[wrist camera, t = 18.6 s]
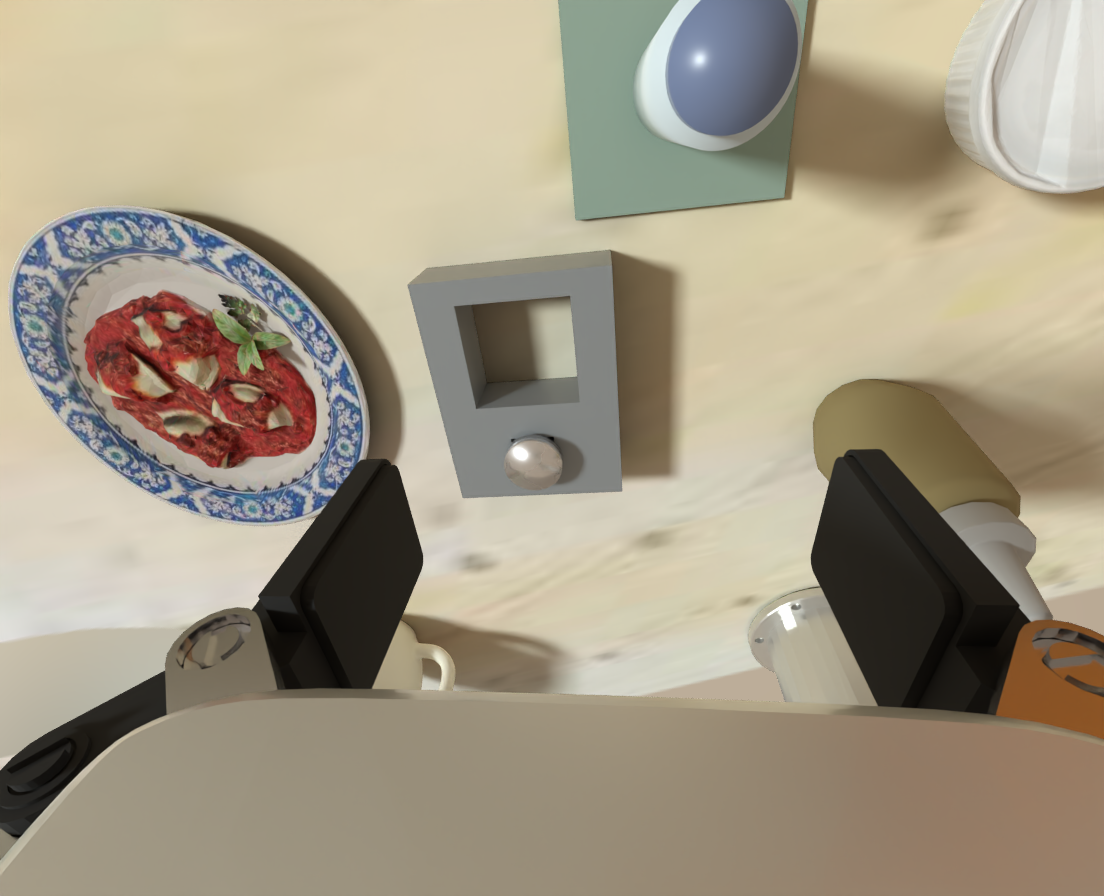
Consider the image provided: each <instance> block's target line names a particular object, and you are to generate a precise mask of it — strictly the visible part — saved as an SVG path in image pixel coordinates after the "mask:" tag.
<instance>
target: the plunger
mask: <svg viewBox="0 0 1104 896" xmlns="http://www.w3.org/2000/svg"><path fill="white" fill-rule="evenodd" d="M562 465H563V456H562V452H561V450H560V448H559V447H558V446H557V445H556V443H554V437H544V436H541V435H525V436H521V437H519V438H517V439H516V440H514V441H513V442H512V443H511V444H510V446H509V447H508V449H507V452H506V456H505V460H504V469H505V472H506V475H507V476H508V478H509V479H510V480H511V481H512V482H513V483H514V484H516V485H517V486H519V487H521V488H524V489H528V490H542V489H546V488H548V487H550V486H552V485H553V484H555V483H556V482H557V481H558V479H559V478H560V476H561V473H562Z"/></svg>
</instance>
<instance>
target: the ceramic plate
mask: <svg viewBox="0 0 1104 896" xmlns="http://www.w3.org/2000/svg"><path fill="white" fill-rule="evenodd" d="M8 310H9V319H10V328H11V332H12V335H13V338H14V341H15V344H16V347H17V350H18V353H19V356H20V358H21V361H22V363H23V365H24V368H25V370H26V373H27V375H28V377H29V378H30V380H31V382H32V383H33V385H34V386H35V388H36V390H37V391H38V393H39V394H40V396H41V397H42V399H43V400H44V402H45V403H46V405H47V406H48V408H49V409H50V410H51V412H52V413H53V415H54V416H55V417H56V419H57V420H58V421H59V422H60V423H61V424H62V425H63V426H64V427H65V429H66V430H67V431H68V432H69V433H70V434H71V435H72V436H73V437H74V438H75V439H76V440H77V441H78V442H79V443H80V444H81V445H82V446H83V447H84V448H85V449H86V450H87V451H89V452H90V453H91V454H92V455H93V456H94V457H95V458H96V459H97V460H98V461H100V462H101V463H102V464H104V465H105V466H106V467H108V468H109V469H110V470H112V471H113V472H114V473H116V474H117V475H119V476H120V477H121V478H123V479H124V480H125V481H127V482H128V483H130V484H132V485H134V486H135V487H137V488H139V489H140V490H142V491H144V492H146V493H147V494H149V495H151V496H153V497H154V498H156V499H158V500H160V501H163V502H165V503H167V504H169V505H172V506H174V507H176V508H178V509H181V510H184V511H186V512H189V513H191V514H194V515H197V516H201V517H204V518H208V519H212V520H216V521H220V522H225V523H231V524H237V525H246V526H278V525H285V524H291V523H296V522H300V521H303V520H306V519H309V518H312V517H314V516H316V515H319V514H320V513H321V511H322V510H323V509H324V507H325V506H326V504H327V503H328V502H329V500H330V499H331V498H332V496H333V495H334V494H335V492H336V491H337V490H338V488H339V487H340V486H341V484H342V483H343V482H344V480H345V479H346V478H347V476H348V475H349V474H350V472H351V471H352V470H353V468H354V467H355V466H356V464H357V463H358V462H359V461H360V460H363V459H366V457H367V453H368V447H369V437H370V418H369V411H368V404H367V400H366V396H365V392H364V388H363V385H362V382H361V380H360V377H359V374H358V371H357V369H356V367H355V365H354V363H353V361H352V358H351V356H350V354H349V353H348V351H347V349H346V347H345V346H344V344H343V342H342V340H341V339H340V337H339V336H338V334H337V333H336V331H335V330H334V328H333V327H332V325H331V324H330V322H329V321H328V320H327V319H326V317H325V316H324V315H323V314H322V312H321V311H320V310H319V309H318V307H317V306H316V305H315V304H314V303H313V302H312V301H311V300H310V299H309V298H308V296H307V295H306V294H305V293H304V292H303V291H302V290H301V289H300V288H299V287H298V286H297V285H296V284H295V283H293V282H292V281H291V280H290V279H289V278H288V277H287V276H286V275H285V274H284V273H282V272H281V271H280V270H279V269H277V268H276V267H275V266H274V265H272V264H271V263H270V262H269V261H267V260H266V259H264V258H263V257H262V256H260V255H259V254H257V253H256V252H254V251H253V250H251V249H250V248H248V247H247V246H245V245H243V244H242V243H240V242H238V241H237V240H235V239H233V238H231V237H230V236H228V235H226V234H224V233H222V232H219V231H217V230H215V229H213V228H211V227H209V226H207V225H204V224H202V223H200V222H198V221H195V220H192V219H189V218H186V217H182V216H179V215H176V214H173V213H169V212H166V211H162V210H156V209H151V208H146V207H137V206H126V205H112V206H97V207H90V208H83V209H80V210H76V211H73V212H70V213H67V214H64V215H62V216H60V217H58V218H56V219H54V220H52V221H51V222H49V223H48V224H46V225H45V226H43V227H42V228H40V229H39V230H38V231H37V232H36V233H35V234H34V235H33V236H32V237H31V238H30V239H29V240H28V241H27V242H26V244H25V245H24V247H23V248H22V250H21V252H20V254H19V256H18V258H17V260H16V262H15V264H14V267H13V271H12V274H11V277H10V281H9V291H8Z"/></svg>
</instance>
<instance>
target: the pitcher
mask: <svg viewBox="0 0 1104 896" xmlns="http://www.w3.org/2000/svg"><path fill="white" fill-rule="evenodd" d="M423 658H427V659H432V660H434V661H436V662H437V663H438V664H439V665H440V666H441V669H442V678H441V683H440V687H439V689H438V690H442V691H452V690H453V687H454V682H455V675H456V673H455V665H454V662H453V660H452V658H451V657H450V655H449V654H448V653H447V652H446V651H445V650H444V649H443V648H441V647H439V646H437V645H433V644H423V643H418V640H417V639H416V635H415V632H414V631H413V629H412V628H411V627H410V626H409V625H408V624H406V623H405V622H403V621H402V620H400V622H399V625H398V627H397V630H396V632H395V634H394V637H393V639H392V642H391V644H390V646H389V649H388V651H387V654H386V656H385V658H384V661H383V663H382V666H381V668H380V670H379V673H378V675H377V678H376V680H375V682H374V685H373V687H372V689H406V690H421V687H422V677H423V664H422V659H423Z"/></svg>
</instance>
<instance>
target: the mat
mask: <svg viewBox="0 0 1104 896" xmlns="http://www.w3.org/2000/svg"><path fill="white" fill-rule="evenodd" d="M678 1H679V0H558V4H559V16H560V29H561V41H562V54H563V67H564V79H565V92H566V105H567V117H568V130H569V143H570V155H571V168H572V181H573V193H574V206H575V219H576V220H583V219H592V218H601V217H611V216H620V215H629V214H638V213H648V212H657V211H666V210H675V209H685V208H694V207H703V206H712V205H722V204H731V203H740V202H749V201H759V200H768V199H777V198H784V194H785V186H786V178H787V170H788V161H789V153H790V145H791V137H792V129H793V120H794V112H795V104H796V96H797V87H798V79H799V71H800V66H799V70H798V74H797V77H796V80H795V83H794V86H793V88H792V91H791V93H790V95H789V97H788V99H787V101H786V102H785V104H784V105H783V107H782V109H781V110H780V112H779V113H778V114H777V115H776V117H775V118H774V119H773V120H772V122H771V123H770V124H769V125H768V126H767V127H766V128H765V129H764V130H762V131H761V132H760V133H759V134H757V135H756V136H755V137H753V138H752V139H750V140H749V141H747V142H745V143H743V144H741V145H739V146H736V147H733V148H730V149H726V150H721V151H705V150H699V149H695V148H692V147H688V146H684V145H681V144H677V143H673V142H670V141H666V140H662V139H660V138H657V137H656V136H654V135H652V134H651V133H650V132H649V131H648V130H647V129H646V128H645V127H644V126H643V125H642V123H641V122H640V120H639V118H638V116H637V114H636V111H635V107H634V103H633V93H632V91H633V79H634V74H635V70H636V67H637V65H638V62H639V60H640V58H641V56H642V54H643V53H644V51H645V49H646V48H647V46H648V45H649V43H650V42H651V40H652V39H653V37H654V36H655V34H656V33H657V31H658V30H659V28H660V27H661V25H662V24H663V22H664V21H665V19H666V18H667V16H668V15H669V13H670V11H671V10H672V8H673V7H674V6H675V5H676V3H677V2H678ZM792 1H793V3H794V6H795V8H796V10H797V13H798V17H799V20H800V26H801V32H802V46H803V38H804V30H805V22H806V14H807V5H808V0H792ZM801 55H802V52H801ZM800 63H801V60H800Z"/></svg>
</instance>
